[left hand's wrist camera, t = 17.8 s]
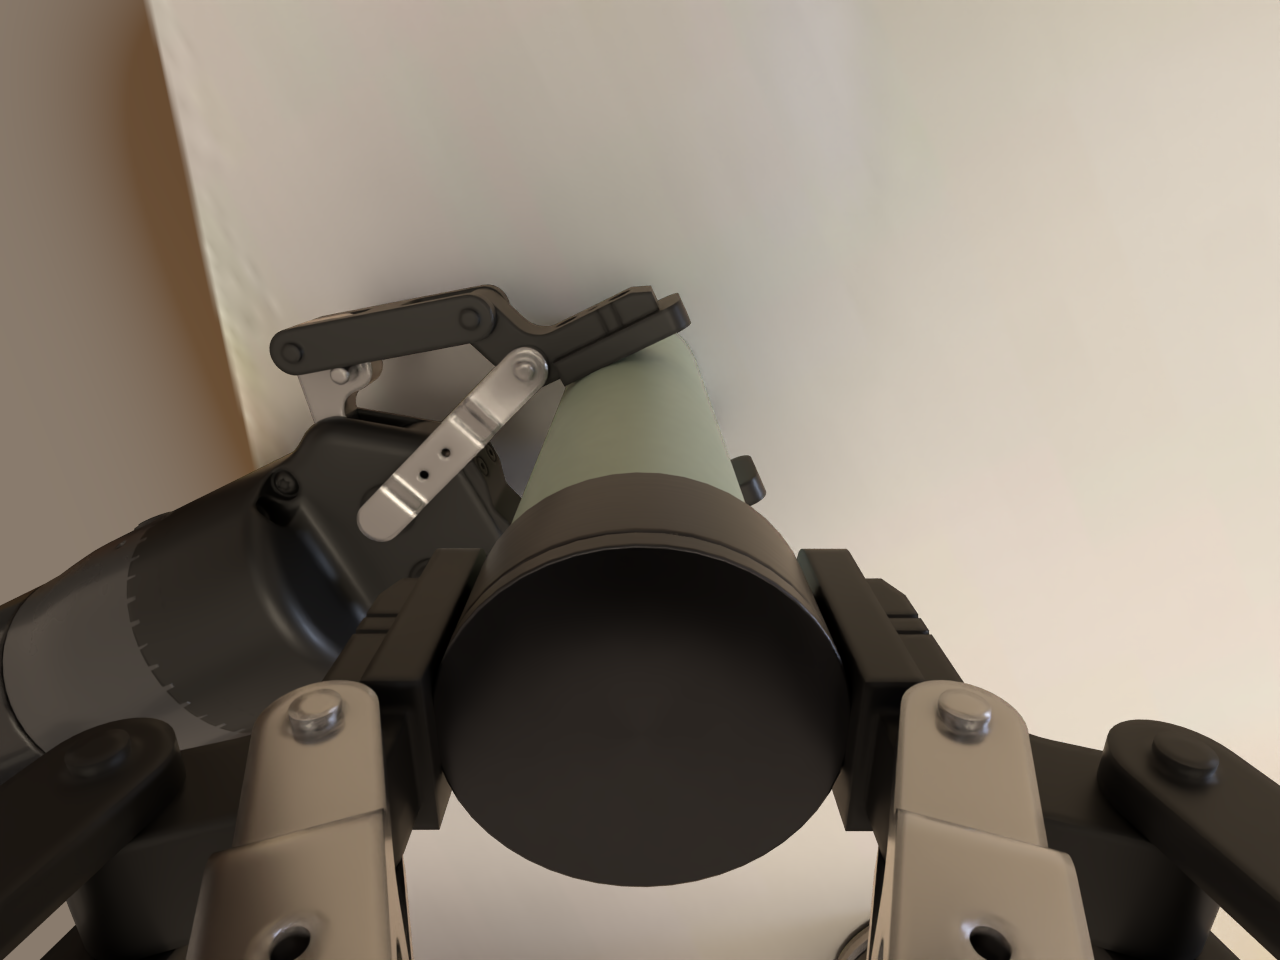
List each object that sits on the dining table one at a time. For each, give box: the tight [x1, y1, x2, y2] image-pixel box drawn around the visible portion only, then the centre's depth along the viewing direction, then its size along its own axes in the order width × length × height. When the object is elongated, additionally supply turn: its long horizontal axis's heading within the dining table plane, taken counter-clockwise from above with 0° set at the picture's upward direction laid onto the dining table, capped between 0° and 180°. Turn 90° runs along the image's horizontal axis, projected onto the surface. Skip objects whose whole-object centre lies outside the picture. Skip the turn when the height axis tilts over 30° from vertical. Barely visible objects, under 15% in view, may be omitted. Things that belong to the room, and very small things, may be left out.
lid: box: [433, 472, 851, 887], centre depth 10 cm, size 5×5×2 cm
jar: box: [511, 333, 745, 524], centre depth 18 cm, size 5×5×18 cm
